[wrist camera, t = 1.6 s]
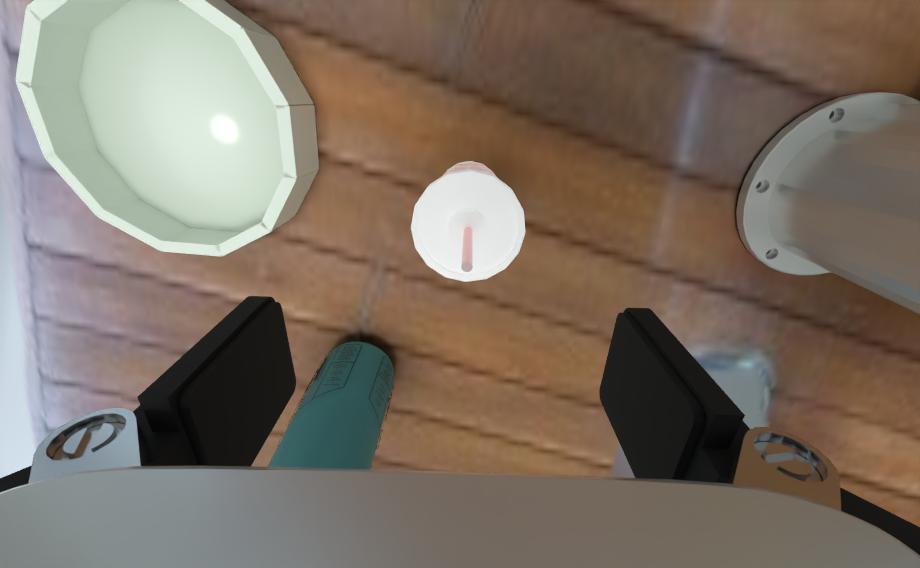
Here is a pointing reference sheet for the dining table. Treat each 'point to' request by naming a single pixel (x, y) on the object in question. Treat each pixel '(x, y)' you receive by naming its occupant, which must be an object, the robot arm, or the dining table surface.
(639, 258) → the dining table surface
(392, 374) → the beverage bottle
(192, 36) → the bowl
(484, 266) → the beverage cup
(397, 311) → the dining table surface
